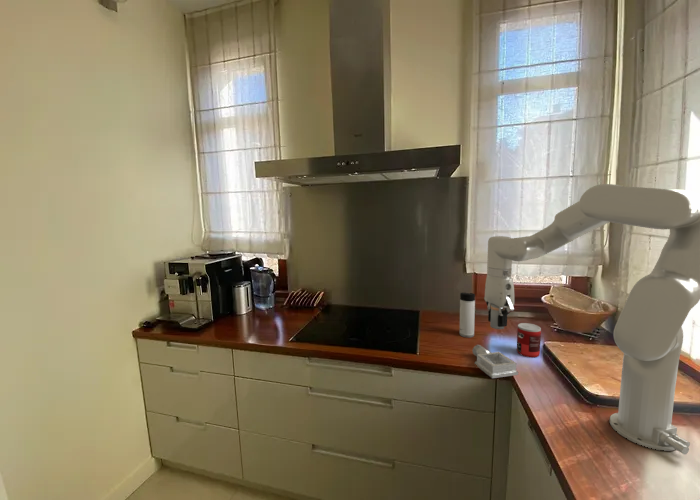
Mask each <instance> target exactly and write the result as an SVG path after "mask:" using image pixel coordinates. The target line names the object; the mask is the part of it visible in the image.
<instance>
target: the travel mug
mask: <svg viewBox="0 0 700 500" xmlns="http://www.w3.org/2000/svg"><path fill="white" fill-rule="evenodd" d="M475 311H476V294H475V293H473V292H470V293H467V292H460V293H459V335H460V336H461V337H463V338H466V339H467V338H473V337H474V336H475V314H476V313H475Z"/></svg>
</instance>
